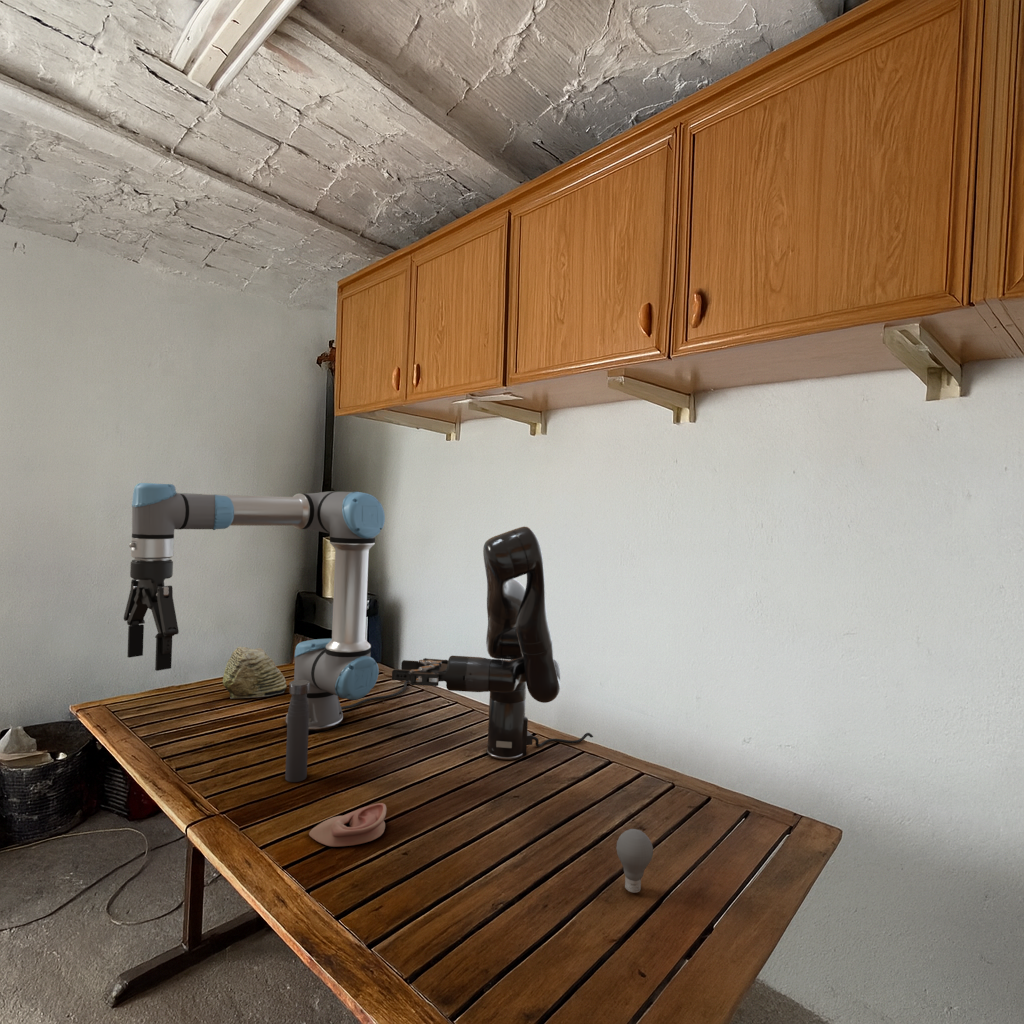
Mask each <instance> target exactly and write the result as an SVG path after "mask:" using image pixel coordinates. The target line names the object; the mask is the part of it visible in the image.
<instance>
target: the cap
mask: <svg viewBox="0 0 1024 1024" xmlns="http://www.w3.org/2000/svg"><path fill="white" fill-rule="evenodd" d="M309 689H310V682H309V681H307V680H294V679H293V680H292V681H289V685H288V693H289V694H290V695H291V696H292V695H304V694H307V693H309Z"/></svg>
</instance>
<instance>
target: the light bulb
mask: <svg viewBox="0 0 1024 1024" xmlns="http://www.w3.org/2000/svg"><path fill="white" fill-rule="evenodd" d="M615 849H616V854H617V857H618V859H619V861H620V863H621V865H622V867H623V873H624V874H623V875H624V876H625V878H624V888H625V890H627V891H628V892H630V893H634V894H635V893H639V892H640V891H641V889H642V887H641V886H642V879H643V877H644V875H645V871H646V868H647V867H648V866H649V864H650V863H651V861H652V859H653V855H654V847H653V843H652V841H651V838H649V836H648V835H647V834H646V833H645V832H643V831H642V830H641V829H636V828H629V829H627V830H625V831H623V832H622V833H621V834H620V835H619V837H618V839H617V841H616V847H615Z"/></svg>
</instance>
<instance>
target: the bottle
mask: <svg viewBox="0 0 1024 1024" xmlns="http://www.w3.org/2000/svg"><path fill="white" fill-rule="evenodd" d="M306 696H307V694H304V695H292V694H291V697H290V701H289V705H288V709H287V713H288V718H287V726H286V745H285V748H286V749H285V772H284V773H285V775H284V779H285V781H286V782H288V783H299V782H302V781H304V780H306V779H307V777H308V753H309V752H308V750H309V732H308V730H309V708H308V701H307V697H306Z"/></svg>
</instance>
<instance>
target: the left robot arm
mask: <svg viewBox="0 0 1024 1024" xmlns="http://www.w3.org/2000/svg"><path fill="white" fill-rule="evenodd" d="M385 515H386V513H385V511H384V508H383V505H382V503H381V502H380V501H379V500H378V498H377V497H375V495H373V494H370V493H367V492H363V491H362V492H361V491H337V490H336V491H335V490H333V491H332V490H330V491H321V492H311V493H295V494H294V495H293V496H276V495H275V496H274V495H273V496H272V495H248V494H247V495H246V494H244V495H243V494H220V493H219V494H218V493H217V494H216V493H215V494H214V493H189V492H187V493H186V492H177V491H176V486H175V485H174V484H173V483H152V482H139V483H137V484H136V485H135V486H134V488H133V492H132V501H131V520H132V521H131V542H130V543H128V547H129V548H130V549H131V550H130V556H131V558H133V559H132V560H131V561H130V567H129V568H130V571H129V574H130V575H129V576H130V578H131V581H130V590H129V594H128V598H127V603H126V607H125V610H124V615H123V621H124V622H126V624H127V626H128V629H127V630H128V631H127V658H135V657H142V656H144V635H145V634H144V630H145V625H144V624H145V623H146V621H145V619H144V618H145V616H146V615H147V612H148V609H149V610H151V613H152V618H153V620H154V624H155V627H156V631H157V633H156V635H155V636H154V638H155V661H154V663H155V665H154V668H155V669H154V670H155V671H157V672H159V671H164V670H169V669H172V659H173V657H172V655H173V637H175V636H176V635H179V632H180V631H179V625H178V619H177V615H176V614H177V613H176V609H175V603H174V597H173V595H174V593H173V585H165V580H167V579H171V578H172V577H173V575H174V573H173V572H174V561H173V560H172V559H171V558H173V557H174V554H175V553H174V552H175V530H213V531H215V530H224V529H228V528H230V526H233V527H234V526H237V527H238V526H240V527H243V526H246V527H247V526H249V527H250V526H258V527H259V526H268V527H269V526H276V527H277V526H282V527H284V526H285V527H286V526H287V527H288V526H289V527H290V526H291V527H293V528H294V529H296V530H308V531H309V530H310V531H316V532H319V533H325V534H329V544H330V545H331V546H332V547H333V548H334V550H335V551H334V572H333V573H334V577H333V599H332V625H331V626H332V627H331V638H317V639H308V640H304V641H300V642H299V643H297V645H296V646H295V650H294V655H293V657H294V672H293V673H294V674H293V681H294V680H307V681H309V682H310V689H309V693H307V696H306V697H307V701H308V708H309V730H308V733H316V732H325V731H329V730H332V729H335V728H337V727H339V726H340V725H342V723H343V722H344V714H343V710H348V709H352V708H356V707H357V706H360V705H362V704H364V703H368V702H371V701H377V700H383V699H390V698H394V697H396V696H398V695H401V694H402V693H403V692H404V691H406V689H407V684H408V683H410V682H409V681H404V683H403V687H402V688H401V689H400V690H398V691H396V692H394V693H391V694H386V695H380V696H379V695H378V696H373V697H368V698H365V699H362V698H364V697H365V696H367V695H368V694H370V692H371V690H372V689H374V687H375V685H376V683H377V682H378V678H379V674H380V672H379V671H380V670H379V669H380V668H379V665H378V663H377V662H376V660H375V659H374V657H371V652H372V649H371V648H372V644H371V643H370V642H368V640H367V639H366V631H367V607H368V606H367V605H368V604H367V602H368V582H369V581H368V579H369V555H370V553H369V552H370V550H371V548H372V547H374V545H375V544H376V536H378V535H379V534H380V533H381V530H383V528H384V526H385V522H386V521H385V520H386V516H385ZM418 677H419V676H416V678H418ZM339 698H341V699H342V700H343V699H344V700H348V701H349V700H350V701H357V700H360V699H362V700H360V701H357V702H354V703H352V704H348V705H343V706H341V702H340V699H339ZM287 718H288V712H287V713H286V715H285V726H286V727H287Z"/></svg>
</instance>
